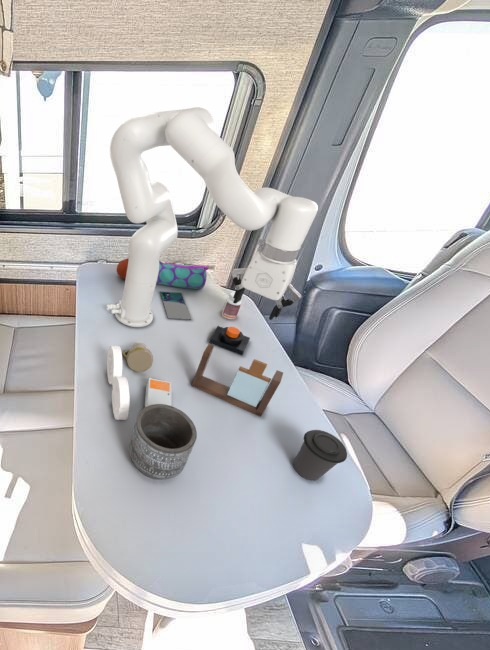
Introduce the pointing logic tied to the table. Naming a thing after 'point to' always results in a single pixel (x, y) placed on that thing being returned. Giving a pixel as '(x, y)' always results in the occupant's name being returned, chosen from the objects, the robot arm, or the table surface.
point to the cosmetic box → (158, 392)
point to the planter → (162, 441)
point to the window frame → (222, 390)
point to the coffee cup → (318, 454)
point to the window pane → (250, 383)
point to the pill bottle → (231, 307)
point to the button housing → (229, 341)
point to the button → (232, 332)
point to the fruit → (122, 268)
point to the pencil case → (182, 275)
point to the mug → (139, 357)
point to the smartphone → (175, 305)
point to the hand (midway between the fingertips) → (253, 309)
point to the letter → (118, 384)
